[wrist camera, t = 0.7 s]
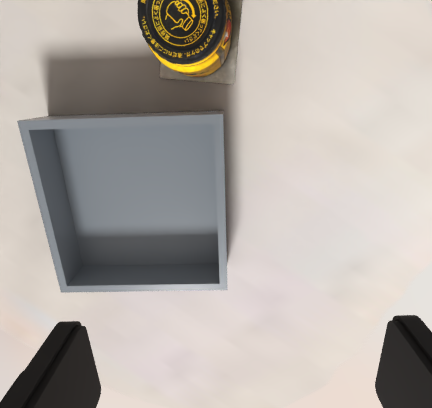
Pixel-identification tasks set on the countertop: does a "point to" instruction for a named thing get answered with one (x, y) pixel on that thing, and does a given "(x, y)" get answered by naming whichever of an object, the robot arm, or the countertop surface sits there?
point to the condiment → (193, 37)
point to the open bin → (132, 199)
